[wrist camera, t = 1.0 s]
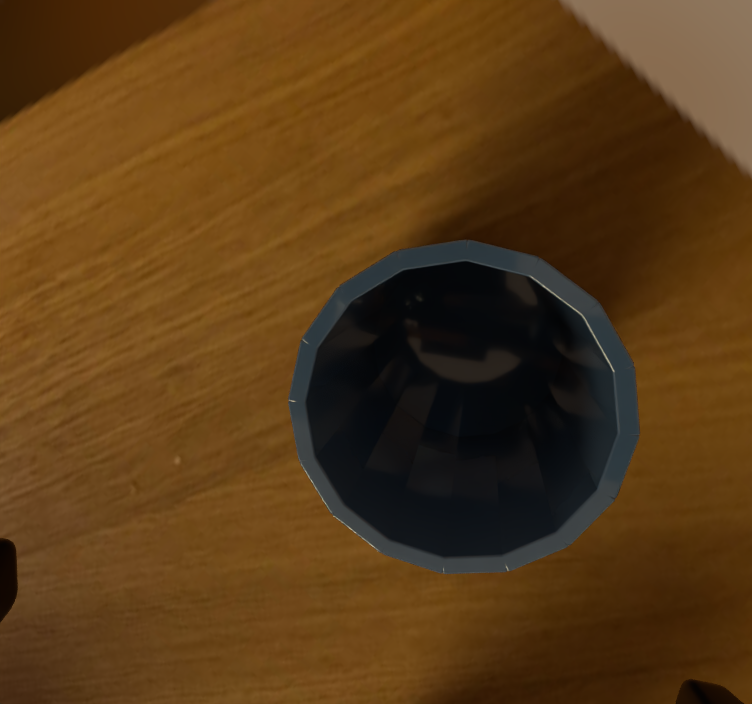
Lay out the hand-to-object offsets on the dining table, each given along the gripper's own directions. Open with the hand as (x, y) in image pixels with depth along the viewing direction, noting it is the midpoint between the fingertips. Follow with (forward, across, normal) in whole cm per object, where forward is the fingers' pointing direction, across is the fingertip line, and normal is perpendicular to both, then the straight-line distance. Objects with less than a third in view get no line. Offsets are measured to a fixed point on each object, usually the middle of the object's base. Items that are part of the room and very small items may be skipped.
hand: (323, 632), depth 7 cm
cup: (+12, -2, -2) cm, 13 cm away
